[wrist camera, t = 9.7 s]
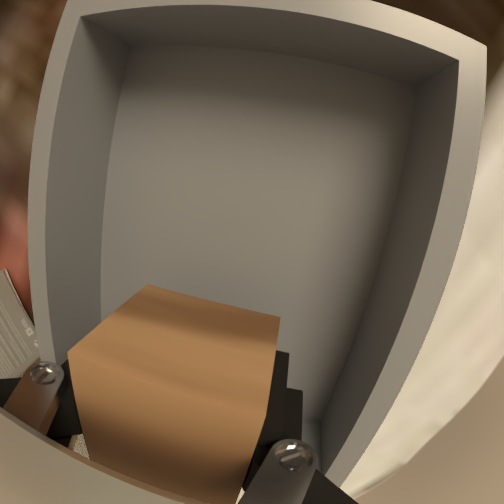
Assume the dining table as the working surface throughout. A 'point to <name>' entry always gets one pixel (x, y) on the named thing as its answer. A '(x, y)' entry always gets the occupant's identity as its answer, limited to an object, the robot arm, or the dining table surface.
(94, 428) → the walnut cube
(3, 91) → the dining table surface
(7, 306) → the skincare box
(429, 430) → the dining table surface
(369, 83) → the tote
